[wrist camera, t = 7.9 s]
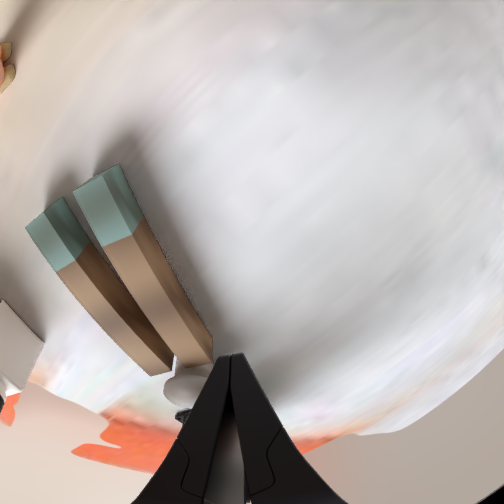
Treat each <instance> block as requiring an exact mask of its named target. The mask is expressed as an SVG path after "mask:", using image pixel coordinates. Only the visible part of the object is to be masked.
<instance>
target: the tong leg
mask: <svg viewBox="0 0 504 504" xmlns="http://www.w3.org/2000/svg"><path fill="white" fill-rule="evenodd" d="M73 194H74V196H75V198H76V200H77V202H78V204H79V206H80V208H81V210H82V212H83V214H84V216H85V218H86V220H87V221H88V223H89V225H90V227H91V229H92V231H93V232H94V234H95V236H96V238H97V240H98V241H99V243H100V245H101V246H102V248H103V250H104V252H105V253H106V255H107V257H108V258H109V260H110V262H111V263H112V265H113V267H114V268H115V270H116V271H117V273H118V275H119V276H120V278H121V279H122V281H123V282H124V284H125V286H126V287H127V289H128V290H129V292H130V293H131V295H132V296H133V298H134V299H135V301H136V302H137V304H138V305H139V307H140V308H141V309H142V311H143V312H144V314H145V315H146V317H147V318H148V319H149V321H150V322H151V324H152V325H153V326H154V328H155V329H156V331H157V332H158V333H159V335H160V336H161V337H162V339H163V340H164V341H165V343H166V344H167V345H168V347H169V348H170V349H171V350H172V352H173V353H174V354H175V356H176V357H177V358H178V359H179V361H180V362H181V363H182V364H183V366H184V367H185V368H186V369H187V368H192V367H196V366H201V365H206V364H210V363H212V344H213V339H212V337H211V335H210V334H209V332H208V330H207V329H206V327H205V326H204V324H203V322H202V321H201V319H200V317H199V316H198V314H197V312H196V311H195V309H194V307H193V306H192V304H191V302H190V301H189V299H188V297H187V295H186V294H185V292H184V290H183V288H182V287H181V285H180V283H179V281H178V280H177V278H176V276H175V274H174V272H173V271H172V269H171V267H170V265H169V263H168V262H167V260H166V258H165V256H164V254H163V252H162V250H161V249H160V247H159V245H158V243H157V241H156V239H155V237H154V235H153V233H152V231H151V229H150V227H149V225H148V224H147V222H146V220H145V218H144V216H143V214H142V212H141V210H140V208H139V205H138V203H137V201H136V199H135V197H134V195H133V193H132V191H131V189H130V187H129V185H128V183H127V180H126V178H125V176H124V174H123V172H122V169H121V167H120V165H119V164H117V165H115V166H113V167H111V168H109V169H107V170H106V171H104V172H102V173H100V174H98V175H96V176H94V177H93V178H91V179H89V180H88V181H87V182H85V183H84V184H82V185H81V186H80V187H78V188H77V189H76V190H74V191H73Z"/></svg>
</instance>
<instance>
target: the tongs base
mask: <svg viewBox="0 0 504 504" xmlns="http://www.w3.org/2000/svg"><path fill="white" fill-rule="evenodd" d="M25 229H26V230H27V232H28V233H29V235H30V236H31V238H32V240H33V241H34V243H35V244H36V246H37V247H38V248H39V250H40V251H41V253H42V254H43V256H44V257H45V259H46V260H47V261H48V263H49V264H50V265H51V267H52V268H53V270H54V271H55V272H56V274H57V275H58V276H59V278H60V279H61V280H62V281H63V283H64V284H65V285H66V287H67V288H68V289H69V290H70V292H71V293H72V294H73V295H74V297H75V298H76V299H77V300H78V301H79V303H80V304H81V305H82V306H83V307H84V308H85V310H86V311H87V312H88V313H89V314H90V315H91V317H92V318H93V319H94V320H95V321H96V322H97V323H98V324H99V325H100V327H101V328H102V329H103V330H104V331H105V332H106V333H107V334H108V335H109V336H110V337H111V338H112V339H113V340H114V342H115V343H116V344H117V345H118V346H119V347H120V348H121V349H122V350H123V351H124V352H125V353H126V354H127V355H128V356H129V357H130V358H131V359H132V360H133V361H134V362H136V363H137V364H138V365H139V366H140V367H141V368H142V369H143V370H144V371H145V372H146V373H147V374H148V375H149V376H154V375H158V374H162V373H166V372H170V371H172V365H173V358H174V353H173V352H172V350H171V349H170V348H169V347H168V345H167V344H166V343H165V341H164V340H163V339H162V337H161V336H160V335H159V333H158V332H157V331H156V329H155V328H154V326H153V325H152V324H151V322H150V321H149V319H148V318H147V317H146V315H145V314H144V312H143V311H142V309H141V308H140V307H139V305H138V304H137V302H136V301H135V300H134V299H133V297H132V296H131V295H130V294H129V292H128V291H127V290H126V289H125V287H124V286H123V285H122V283H121V282H120V281H119V279H118V278H117V277H116V275H115V274H114V273H113V271H112V270H111V269H110V267H109V266H108V265H107V263H106V262H105V260H104V259H103V258H102V256H101V255H100V253H99V252H98V251H97V249H96V248H95V246H94V245H93V243H92V242H91V240H90V239H89V238H88V236H87V235H86V233H85V232H84V230H83V229H82V227H81V225H80V224H79V222H78V221H77V219H76V218H75V216H74V215H73V213H72V211H71V210H70V208H69V207H68V205H67V203H66V202H65V200H64V198H63V197H62V198H60V199H59V200H58V201H56V202H55V203H54V204H53V205H51V206H50V207H49V208H48V209H46V210H45V211H44V212H43V213H41V214H40V215H39V216H38V217H37V218H36V219H34V220H33V221H32V222H31V223H30V224H29V225H27V226H26V227H25ZM213 365H214V362H213V359H212V363H210V364H206V365H201V366H196V367H192V368H187V369H186V368H185V367H184V366H183V364H182V363H181V362H180V361H179V359H178V358H177V361H176V368H175V376H174V377H172V378H170V379H168V380H167V381H166V383H165V385H164V395H165V397H166V398H167V399H168V400H169V401H170V402H172V403H173V404H175V405H178V406H180V407H184V408H189V409H192V407H193V405H194V403H195V402H196V400H197V398H198V396H199V394H200V392H201V390H202V388H203V386H204V384H205V382H206V380H207V378H208V376H209V374H210V372H211V370H212V369H213Z"/></svg>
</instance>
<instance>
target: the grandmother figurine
mask: <svg viewBox="0 0 504 504" xmlns="http://www.w3.org/2000/svg"><path fill="white" fill-rule="evenodd" d="M11 49H12V45H11V43H9V42H7V43H3V44H0V94H1V93H2V92H3V91H4V90H5V89H6V88H7V86H8V85H9V84H10V83H11V82H12V81H13V79H14V76H15V69H14V66H13V65H11V64H10V65H7V66H6V67H4V68H3V65H2V63H3V62H5V61H6V60H7V59H8V58H9V56H10V54H11Z"/></svg>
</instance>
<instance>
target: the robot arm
mask: <svg viewBox="0 0 504 504" xmlns="http://www.w3.org/2000/svg"><path fill="white" fill-rule="evenodd" d="M175 419H176V420H178V421H179V422H181V423H183V425H182V428H181V430H180V432H179V434H178V436H177V438H178V439H175V441H174V443H173V445H172V447H171V449H170V451H169V452H168V454H167V456H166V458H165V459H164V461H163V462H162V464H161V465H160V467H159V468H158V470H157V471H156V472H155V474H154V475H153V477H152V478H151V479H150V481H149V482H148V484H147V485H146V486H145V488H144V489H143V490H142V492H141V493H140V494H139V496H138V497H137V498H136V499H135V500H134V501H133V502H132V503H131V504H246V503H250V500H251V503H252V504H348V503H347V502H345V501H344V500H343V499H342V498H341V497H340V496H339V495H337V494H336V493H335V492H334V491H333V490H332V489H331V488H330V487H329V486H328V484H327V483H326V482H325V481H324V480H323V479H322V478H321V477H320V476H319V475H318V473H317V472H316V471H315V470H314V469H313V468H312V467H311V465H310V464H309V463H308V462H307V461H306V460H305V458H304V457H303V456H302V454H301V453H300V452H299V450H298V449H297V448H296V446H295V445H294V443H293V442H292V440H291V438H290V437H289V435H288V434H287V432H286V430H285V428H283V425H282V423H281V422H280V420H279V418H278V416H277V414H276V413H275V411H274V409H273V407H272V406H271V404H270V402H269V400H268V398H267V397H266V395H265V393H264V391H263V389H262V387H261V386H260V384H259V382H258V380H257V378H256V376H255V374H254V372H253V371H252V369H251V367H250V365H249V363H248V361H247V359H246V357H245V355H244V354H243V353H236V354H232V355H224V356H220V357H218V359H217V361H216V363H215V365H214V367H213V369H212V370H211V372H210V374H209V376H208V378H207V380H206V382H205V384H204V386H203V388H202V390H201V392H200V394H199V396H198V398H197V400H196V402H195V403H194V405H193V407H192V409H191V411H189V412H185V413H181V414H177V415H175ZM476 504H504V484H503V485H502V486H500V487H499V488H498V489H496V490H495V491H493V492H492V493H491V494H489V495H488V496H486V497H485V498H483V499H482V500H480V501H479V502H477V503H476Z"/></svg>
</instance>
